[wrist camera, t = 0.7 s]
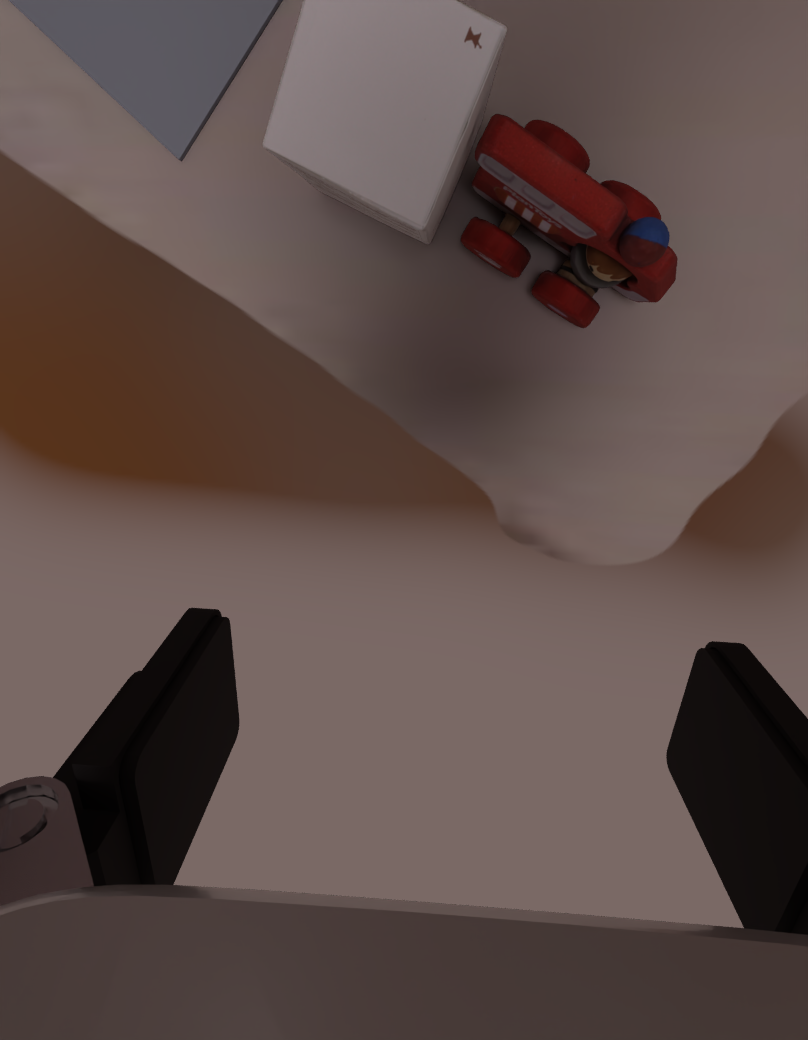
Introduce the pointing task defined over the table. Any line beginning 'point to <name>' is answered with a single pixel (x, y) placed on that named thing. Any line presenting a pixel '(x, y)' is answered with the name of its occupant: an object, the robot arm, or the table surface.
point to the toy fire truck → (566, 220)
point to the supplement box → (385, 103)
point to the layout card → (157, 53)
